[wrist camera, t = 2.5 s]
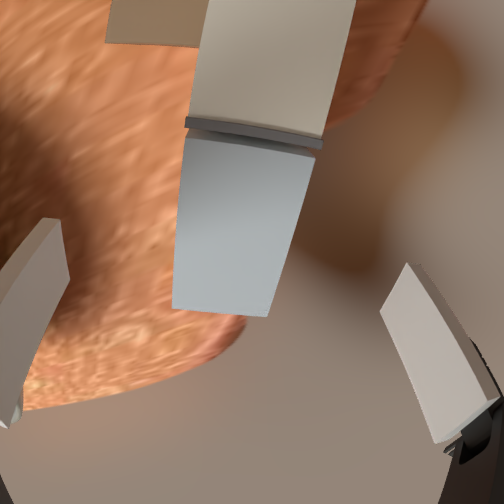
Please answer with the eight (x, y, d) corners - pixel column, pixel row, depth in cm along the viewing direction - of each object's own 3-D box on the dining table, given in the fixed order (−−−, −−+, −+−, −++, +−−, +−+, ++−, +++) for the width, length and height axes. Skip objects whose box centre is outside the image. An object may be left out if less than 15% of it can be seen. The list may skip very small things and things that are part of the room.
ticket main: (132, 80, 17) (34, 122, 8) (155, -42, 12) (84, -119, 2) (270, 96, 19) (324, 150, 9) (298, -24, 14) (381, -91, 4)
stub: (192, 188, 22) (172, 308, 13) (206, 92, 18) (185, 137, 9) (248, 195, 23) (267, 316, 13) (268, 101, 19) (315, 158, 9)
